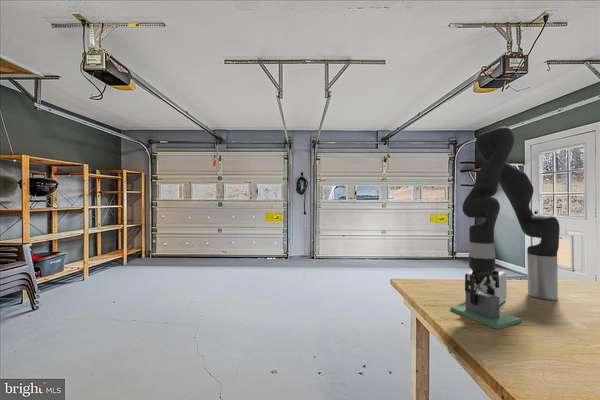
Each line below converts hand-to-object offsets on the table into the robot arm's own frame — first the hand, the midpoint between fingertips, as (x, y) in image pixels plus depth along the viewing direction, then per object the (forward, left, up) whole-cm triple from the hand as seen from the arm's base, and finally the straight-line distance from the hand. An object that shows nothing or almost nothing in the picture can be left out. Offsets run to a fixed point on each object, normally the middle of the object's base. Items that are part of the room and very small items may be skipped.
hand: (482, 302), depth 93 cm
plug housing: (0, 0, -4) cm, 4 cm away
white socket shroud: (-16, -9, -5) cm, 19 cm away
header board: (-1, 0, -5) cm, 5 cm away
